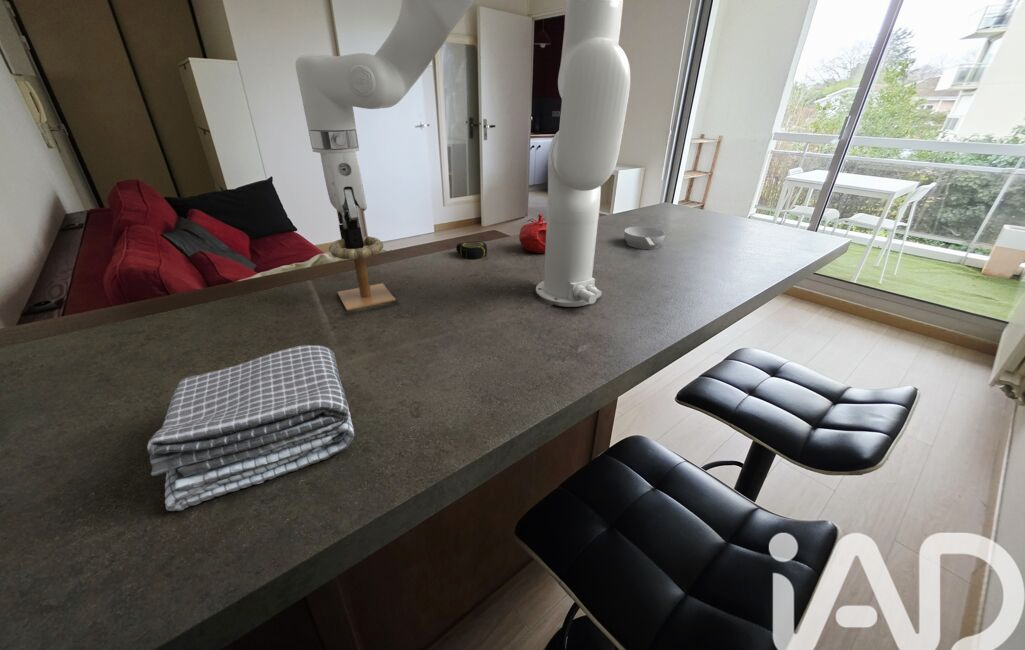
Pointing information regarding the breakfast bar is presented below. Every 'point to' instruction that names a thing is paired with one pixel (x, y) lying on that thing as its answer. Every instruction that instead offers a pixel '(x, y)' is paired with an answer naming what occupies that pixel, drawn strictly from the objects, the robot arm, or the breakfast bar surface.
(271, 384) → the towel
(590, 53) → the robot arm
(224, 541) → the breakfast bar surface
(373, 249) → the beige beaded ring
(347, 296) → the ring toss peg
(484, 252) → the tape measure
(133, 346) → the breakfast bar surface
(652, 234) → the small pan
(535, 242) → the pomegranate
